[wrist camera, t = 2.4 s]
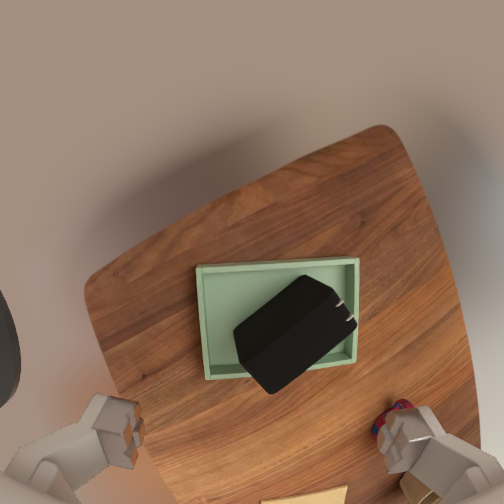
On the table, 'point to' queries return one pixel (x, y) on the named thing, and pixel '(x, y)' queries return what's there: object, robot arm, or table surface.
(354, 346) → the tray
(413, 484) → the flower pot
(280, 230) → the table surface
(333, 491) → the cork mat
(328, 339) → the electronic device
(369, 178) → the table surface
